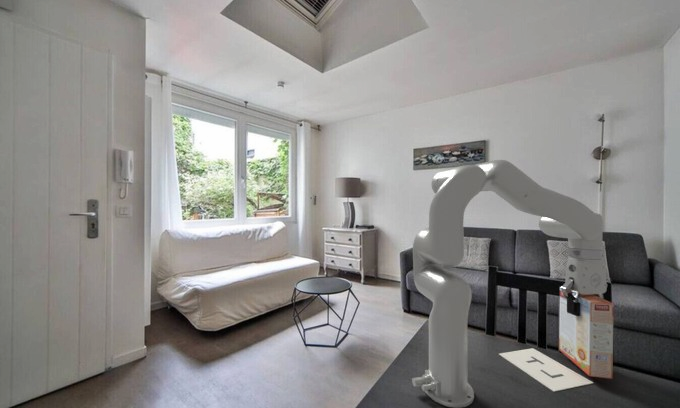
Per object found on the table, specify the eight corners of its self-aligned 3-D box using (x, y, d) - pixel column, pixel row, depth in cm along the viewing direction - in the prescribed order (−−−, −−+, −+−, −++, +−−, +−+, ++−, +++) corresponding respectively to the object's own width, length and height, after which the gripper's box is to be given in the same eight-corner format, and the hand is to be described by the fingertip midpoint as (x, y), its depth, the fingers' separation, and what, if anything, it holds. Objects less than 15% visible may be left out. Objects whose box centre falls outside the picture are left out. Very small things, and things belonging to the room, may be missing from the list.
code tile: (553, 391, 71) (553, 390, 71) (498, 354, 88) (498, 353, 88) (593, 383, 74) (593, 382, 74) (532, 348, 92) (532, 348, 92)
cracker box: (614, 380, 73) (615, 303, 72) (588, 377, 74) (589, 301, 74) (579, 351, 86) (579, 286, 86) (558, 349, 88) (558, 285, 87)
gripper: (576, 258, 74) (575, 321, 74) (621, 255, 78) (621, 315, 78) (549, 253, 81) (548, 310, 82) (592, 250, 86) (591, 305, 86)
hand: (584, 312), depth 80 cm, fingers closed on cracker box, 8 cm apart
